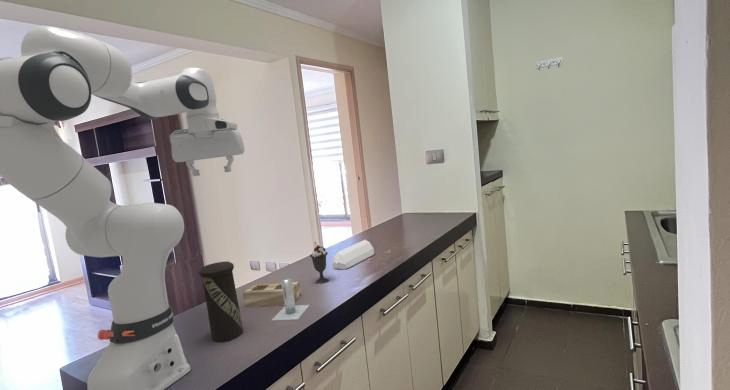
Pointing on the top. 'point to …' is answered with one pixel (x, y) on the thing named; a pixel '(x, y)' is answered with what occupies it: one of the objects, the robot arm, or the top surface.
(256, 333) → the top surface
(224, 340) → the container
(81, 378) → the top surface
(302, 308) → the mat
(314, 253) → the sundae
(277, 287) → the socket block
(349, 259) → the crystal
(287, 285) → the peg
